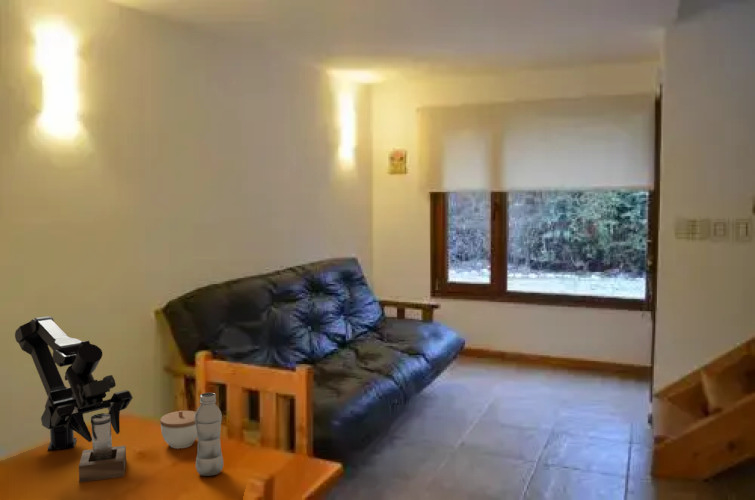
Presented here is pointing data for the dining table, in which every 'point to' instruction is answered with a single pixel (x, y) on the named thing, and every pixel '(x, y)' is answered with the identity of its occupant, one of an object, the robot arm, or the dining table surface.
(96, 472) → the socket block
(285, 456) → the dining table surface
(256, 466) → the dining table surface
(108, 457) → the silver metal can
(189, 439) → the lidded jar
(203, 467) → the plastic bottle
